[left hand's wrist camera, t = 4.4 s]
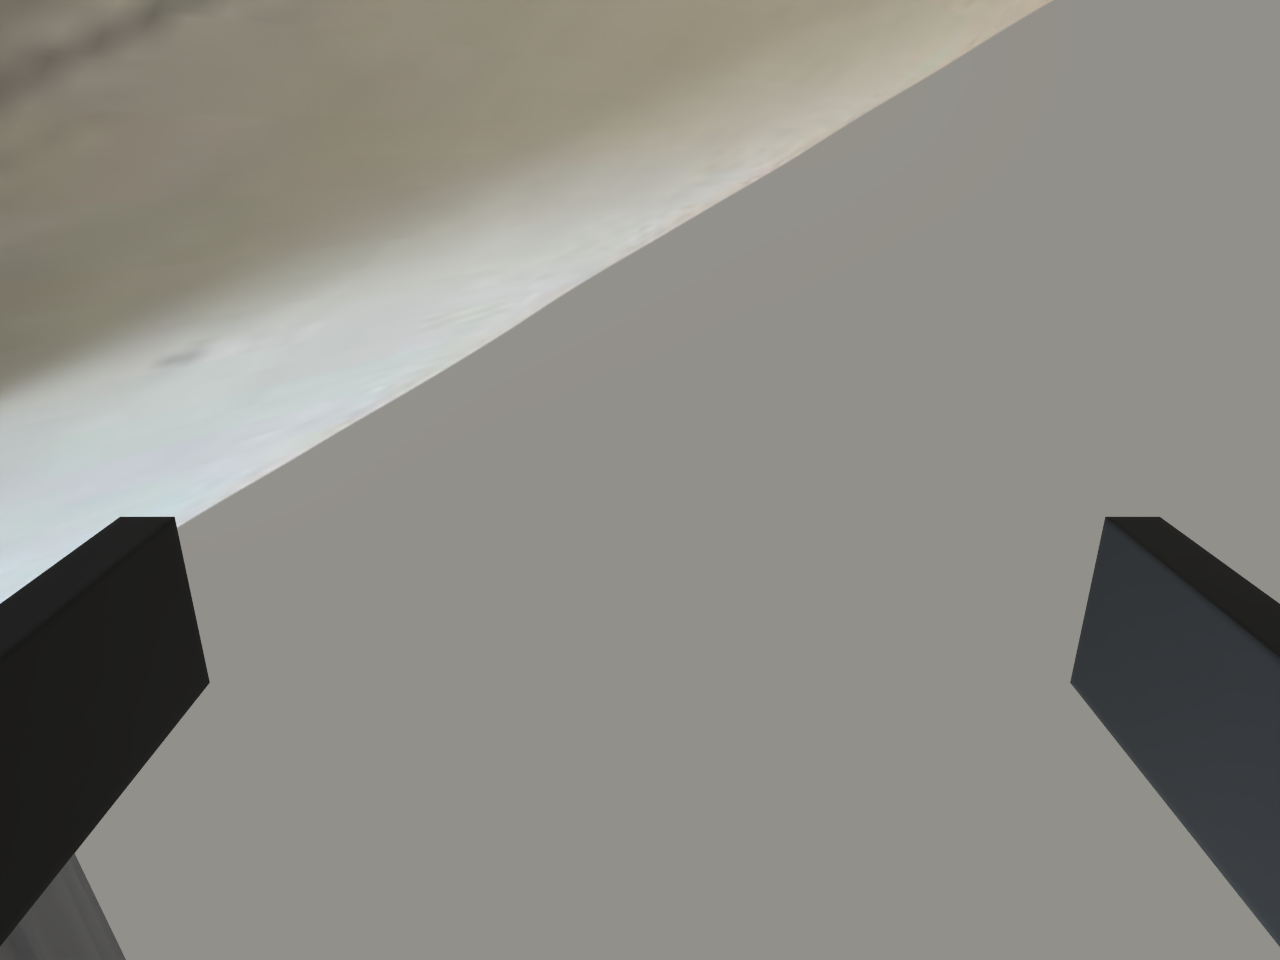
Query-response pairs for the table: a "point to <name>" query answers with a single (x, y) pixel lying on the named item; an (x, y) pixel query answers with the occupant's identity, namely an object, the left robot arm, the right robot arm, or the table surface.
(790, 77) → the table surface
